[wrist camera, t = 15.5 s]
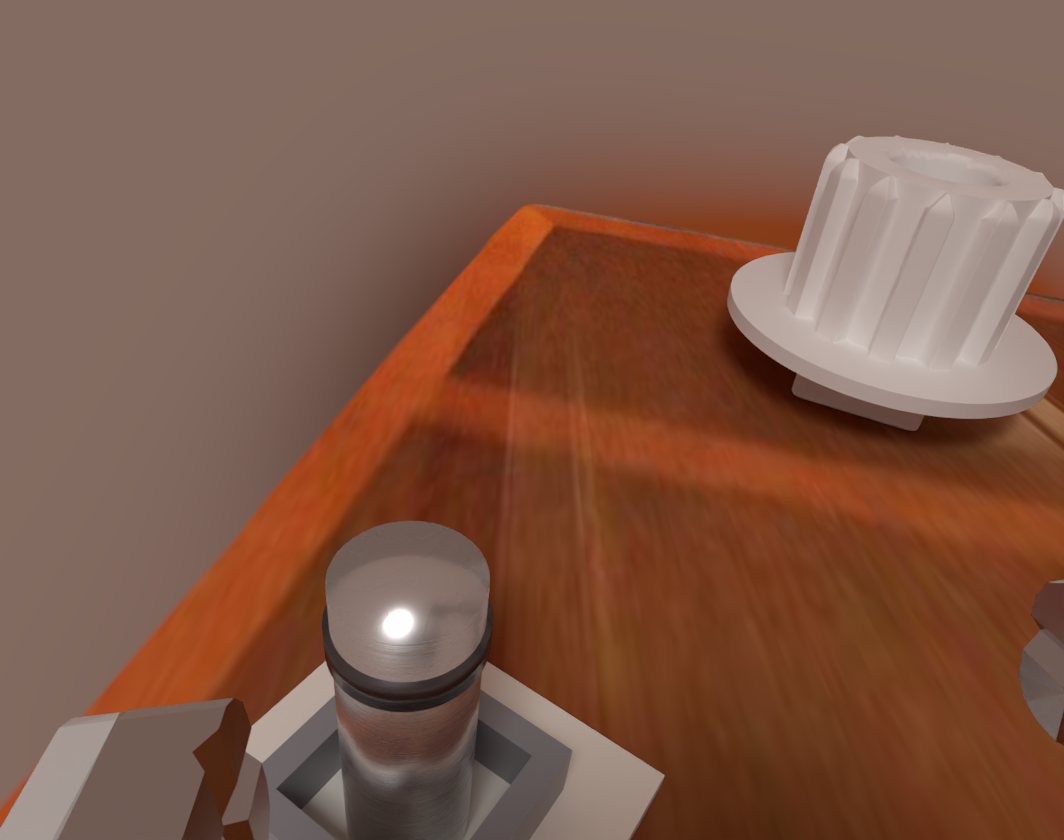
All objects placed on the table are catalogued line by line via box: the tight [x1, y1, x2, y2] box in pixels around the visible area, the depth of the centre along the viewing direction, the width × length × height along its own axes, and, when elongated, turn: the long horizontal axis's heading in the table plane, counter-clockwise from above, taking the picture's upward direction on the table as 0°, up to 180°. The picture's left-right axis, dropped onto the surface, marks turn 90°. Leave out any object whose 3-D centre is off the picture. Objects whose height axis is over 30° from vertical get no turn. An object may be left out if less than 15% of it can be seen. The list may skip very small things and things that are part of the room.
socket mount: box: [246, 661, 665, 840], centre depth 31 cm, size 16×16×4 cm
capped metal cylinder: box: [322, 521, 493, 840], centre depth 28 cm, size 5×5×14 cm
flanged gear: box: [727, 135, 1064, 431], centre depth 61 cm, size 25×25×19 cm
